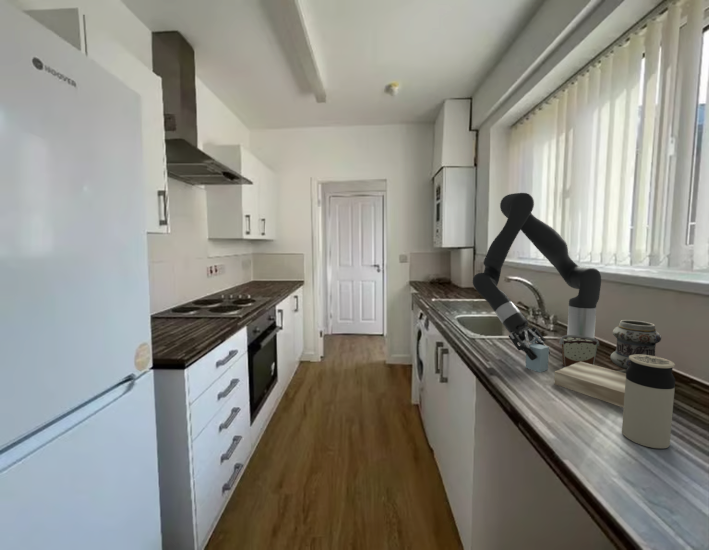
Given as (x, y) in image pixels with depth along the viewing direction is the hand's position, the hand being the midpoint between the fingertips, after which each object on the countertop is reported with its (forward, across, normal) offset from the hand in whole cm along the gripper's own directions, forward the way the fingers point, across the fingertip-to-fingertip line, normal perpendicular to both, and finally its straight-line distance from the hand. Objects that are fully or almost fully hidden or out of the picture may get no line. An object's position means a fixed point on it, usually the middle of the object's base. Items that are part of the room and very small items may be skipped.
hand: (541, 356), depth 114 cm
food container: (+6, +15, +1) cm, 16 cm away
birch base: (+16, 0, -9) cm, 18 cm away
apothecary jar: (+17, +18, -10) cm, 27 cm away
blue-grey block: (+2, 0, +4) cm, 5 cm away
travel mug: (+28, -21, -21) cm, 41 cm away
